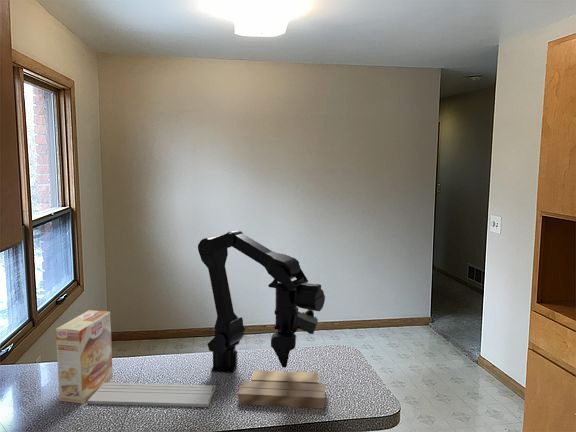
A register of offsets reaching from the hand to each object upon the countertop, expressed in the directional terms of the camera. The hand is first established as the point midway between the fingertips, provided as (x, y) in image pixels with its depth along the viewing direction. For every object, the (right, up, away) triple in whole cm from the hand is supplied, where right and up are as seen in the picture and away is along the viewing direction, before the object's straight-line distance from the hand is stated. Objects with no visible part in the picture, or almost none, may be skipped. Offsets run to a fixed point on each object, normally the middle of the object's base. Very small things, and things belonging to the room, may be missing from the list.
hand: (285, 359), depth 128 cm
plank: (0, -8, +1) cm, 8 cm away
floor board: (-1, -8, -6) cm, 10 cm away
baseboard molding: (-35, -9, -4) cm, 36 cm away
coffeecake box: (-54, -8, -1) cm, 54 cm away
